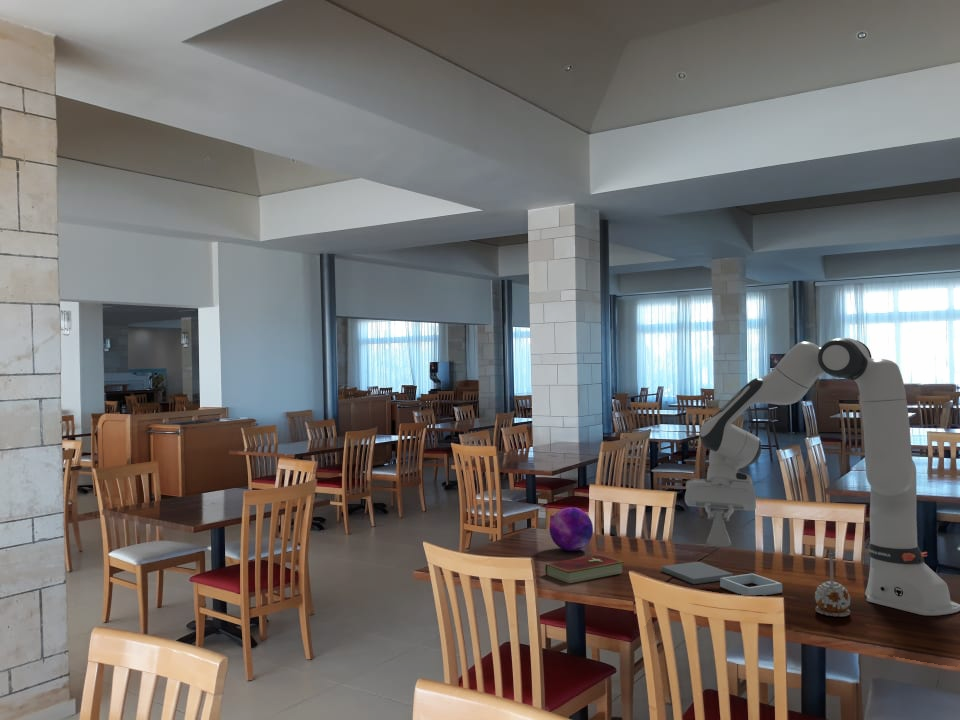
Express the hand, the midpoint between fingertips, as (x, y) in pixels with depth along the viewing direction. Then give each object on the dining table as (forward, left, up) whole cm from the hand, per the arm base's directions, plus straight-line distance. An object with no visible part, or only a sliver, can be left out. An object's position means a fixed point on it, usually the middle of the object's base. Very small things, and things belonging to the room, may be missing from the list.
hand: (718, 518), depth 219 cm
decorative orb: (+53, +20, -19) cm, 60 cm away
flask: (+1, 0, -8) cm, 8 cm away
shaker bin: (-10, -3, -18) cm, 21 cm away
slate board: (+9, +1, -18) cm, 21 cm away
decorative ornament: (-35, -7, -19) cm, 40 cm away
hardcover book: (+25, +31, -19) cm, 44 cm away
